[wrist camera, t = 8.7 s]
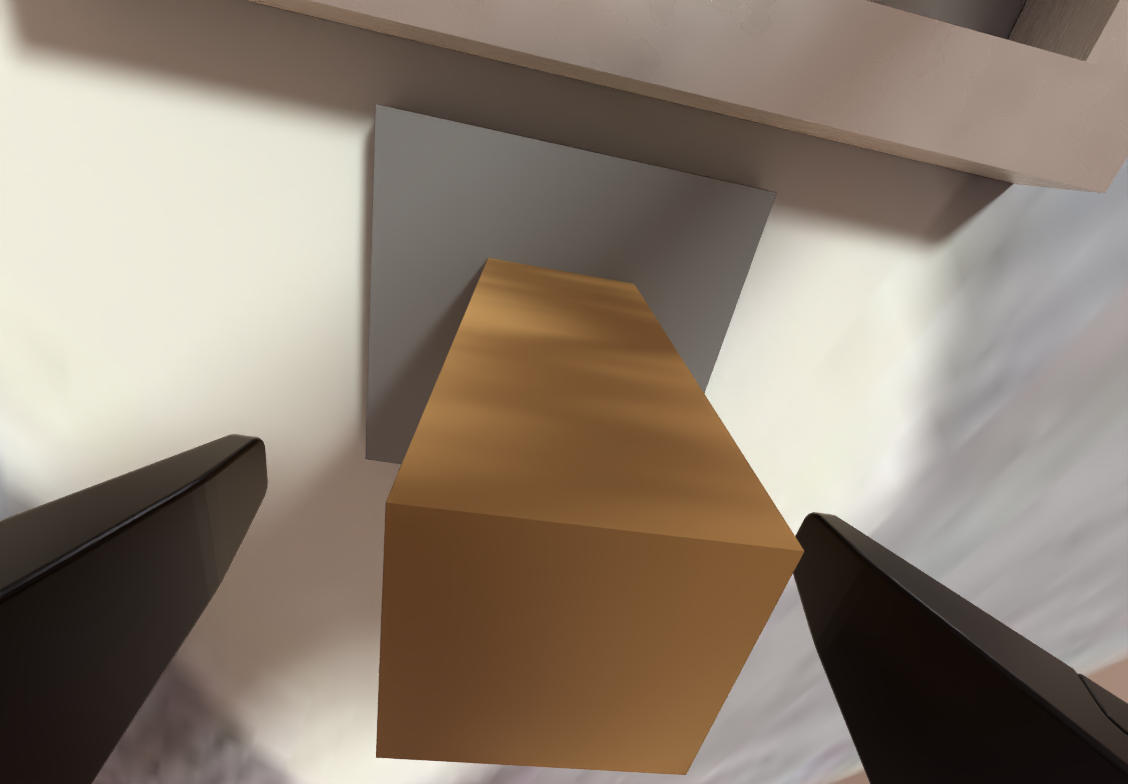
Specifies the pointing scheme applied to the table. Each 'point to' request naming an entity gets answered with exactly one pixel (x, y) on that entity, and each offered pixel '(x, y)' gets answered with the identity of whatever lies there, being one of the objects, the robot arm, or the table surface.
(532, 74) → the table surface
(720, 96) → the grey flat frame
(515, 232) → the mat
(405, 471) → the peg
